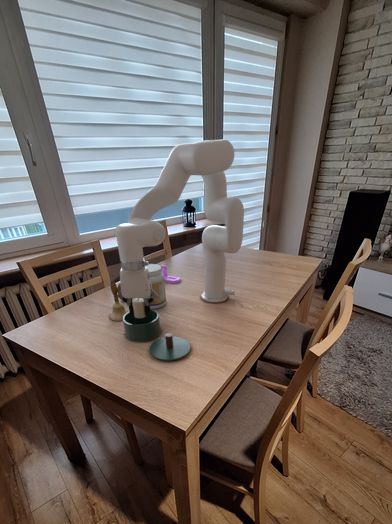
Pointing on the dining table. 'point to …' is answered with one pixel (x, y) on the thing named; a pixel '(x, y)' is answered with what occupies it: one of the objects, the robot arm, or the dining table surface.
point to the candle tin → (142, 327)
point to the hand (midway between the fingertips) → (140, 313)
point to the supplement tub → (157, 285)
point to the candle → (138, 307)
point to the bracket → (169, 278)
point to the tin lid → (169, 348)
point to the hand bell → (117, 304)
